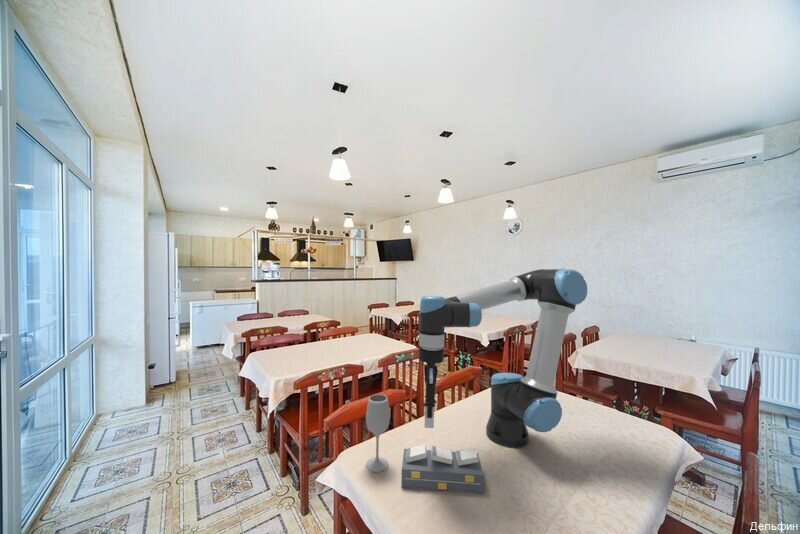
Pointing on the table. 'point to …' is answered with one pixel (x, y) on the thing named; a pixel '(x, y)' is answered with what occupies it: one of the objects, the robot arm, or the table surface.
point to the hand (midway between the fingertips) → (429, 426)
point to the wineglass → (377, 427)
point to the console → (442, 475)
